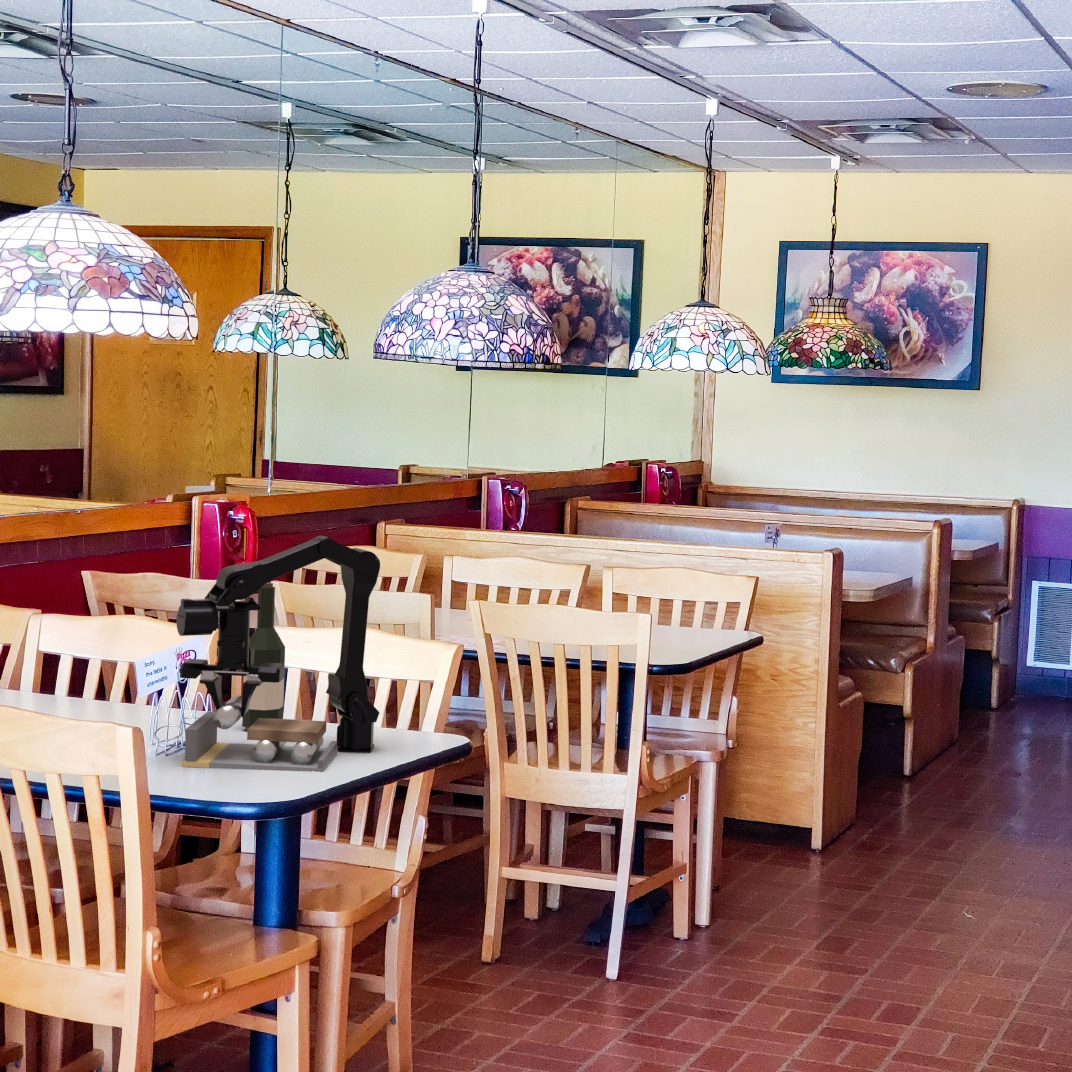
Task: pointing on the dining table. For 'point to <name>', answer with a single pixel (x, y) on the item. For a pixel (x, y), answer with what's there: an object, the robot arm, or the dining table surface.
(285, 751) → the track board
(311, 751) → the roller
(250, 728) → the slab
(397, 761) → the dining table surface
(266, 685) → the wine bottle
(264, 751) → the roller
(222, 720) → the roller
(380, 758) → the dining table surface
